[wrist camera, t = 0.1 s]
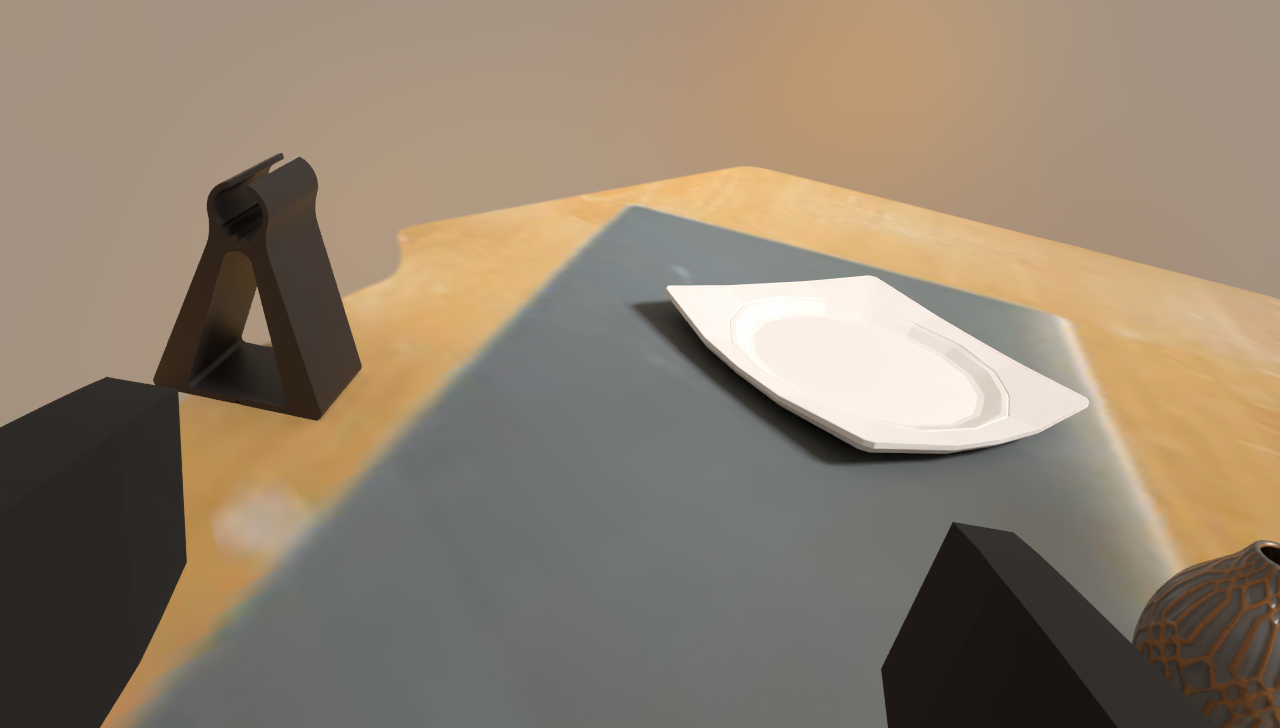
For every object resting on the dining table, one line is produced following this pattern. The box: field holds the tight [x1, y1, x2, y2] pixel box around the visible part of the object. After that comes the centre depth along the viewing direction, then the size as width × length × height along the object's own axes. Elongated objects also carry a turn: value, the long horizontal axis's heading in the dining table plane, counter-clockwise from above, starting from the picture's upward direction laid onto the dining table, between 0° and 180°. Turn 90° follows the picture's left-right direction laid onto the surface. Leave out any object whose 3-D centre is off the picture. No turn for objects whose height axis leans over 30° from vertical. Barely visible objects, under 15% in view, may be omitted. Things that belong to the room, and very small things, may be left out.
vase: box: [1132, 540, 1280, 728], centre depth 40 cm, size 7×7×9 cm
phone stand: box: [153, 153, 362, 420], centre depth 49 cm, size 9×6×12 cm, turn 84°
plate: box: [665, 276, 1089, 454], centre depth 68 cm, size 24×24×3 cm
